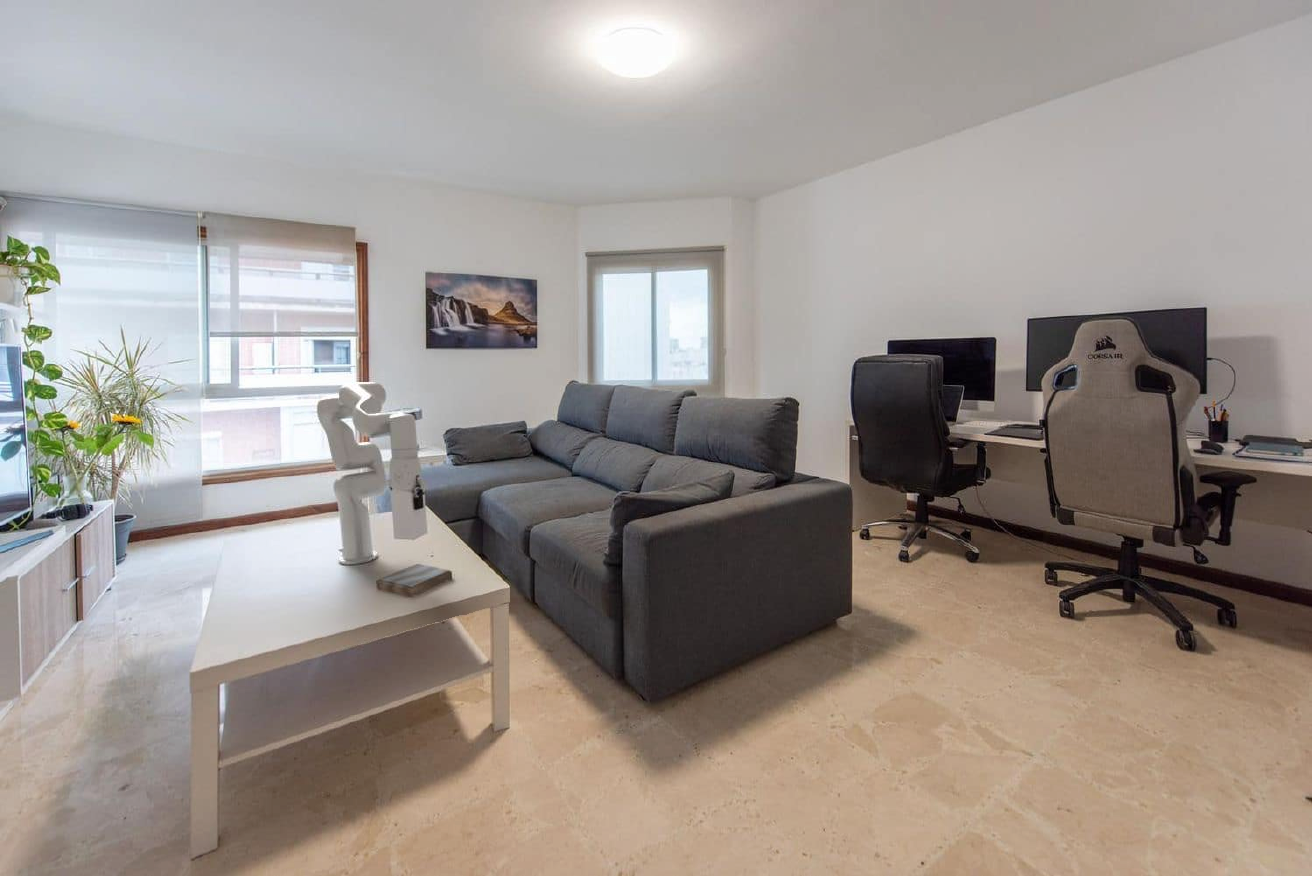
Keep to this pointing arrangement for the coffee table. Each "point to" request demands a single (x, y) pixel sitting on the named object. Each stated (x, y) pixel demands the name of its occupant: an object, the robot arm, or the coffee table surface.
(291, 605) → the coffee table surface
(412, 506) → the milk carton
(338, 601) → the coffee table surface
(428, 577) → the framed mirror
